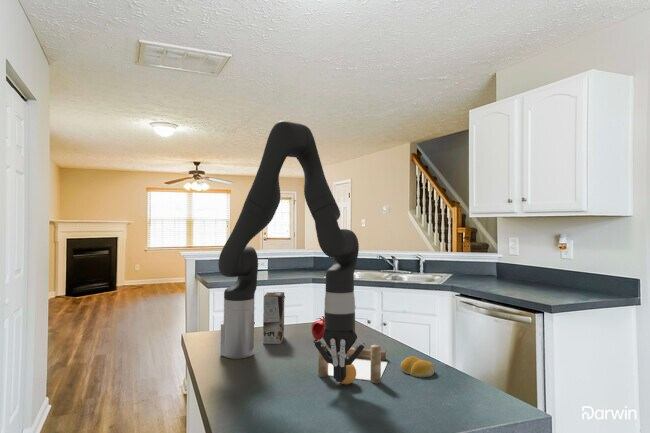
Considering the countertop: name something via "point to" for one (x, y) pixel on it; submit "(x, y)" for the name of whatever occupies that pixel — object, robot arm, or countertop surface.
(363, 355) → the stopper rail
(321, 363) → the post
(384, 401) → the countertop surface
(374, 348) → the post
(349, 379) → the ball
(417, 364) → the bread roll
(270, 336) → the coffee box
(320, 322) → the pomegranate
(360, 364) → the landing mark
